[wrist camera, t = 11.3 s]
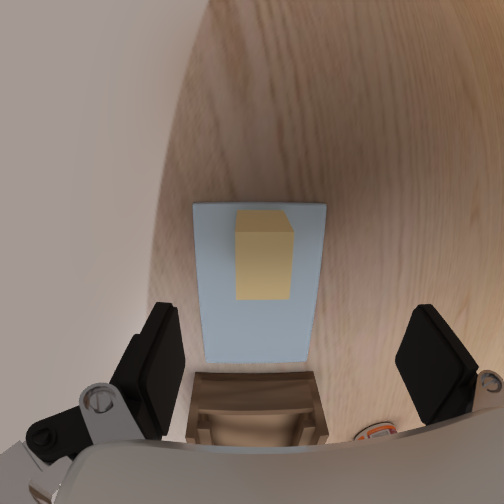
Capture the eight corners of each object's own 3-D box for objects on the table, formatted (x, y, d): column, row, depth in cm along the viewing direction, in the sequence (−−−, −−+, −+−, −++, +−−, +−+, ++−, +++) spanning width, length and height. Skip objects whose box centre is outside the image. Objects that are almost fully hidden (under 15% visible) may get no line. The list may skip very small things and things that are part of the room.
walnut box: (195, 372, 25) (185, 437, 18) (313, 371, 25) (329, 434, 18) (209, 449, 31) (206, 495, 24) (292, 448, 31) (299, 494, 25)
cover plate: (194, 200, 19) (177, 224, 14) (322, 201, 20) (348, 225, 15) (207, 355, 25) (200, 401, 20) (304, 353, 25) (315, 398, 20)
